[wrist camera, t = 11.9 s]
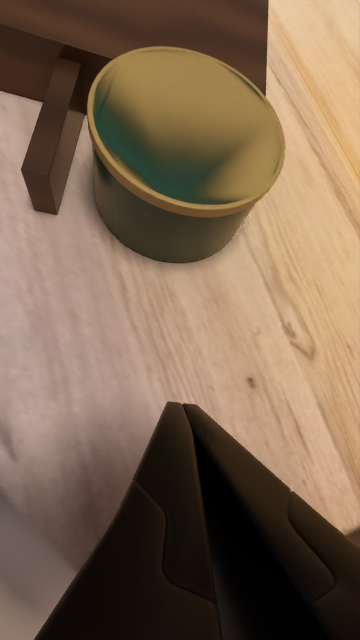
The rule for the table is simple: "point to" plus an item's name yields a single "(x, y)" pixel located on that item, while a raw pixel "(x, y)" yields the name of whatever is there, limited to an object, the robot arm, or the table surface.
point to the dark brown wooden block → (107, 61)
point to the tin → (179, 151)
